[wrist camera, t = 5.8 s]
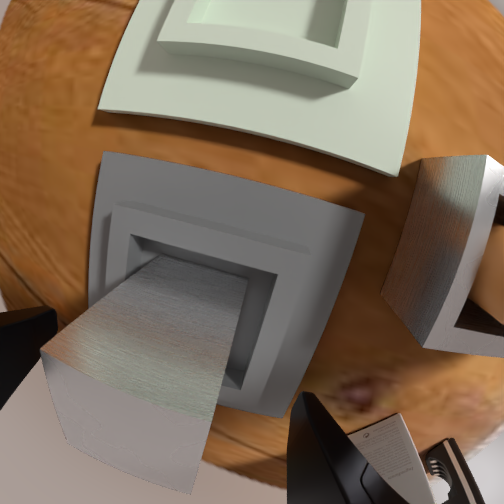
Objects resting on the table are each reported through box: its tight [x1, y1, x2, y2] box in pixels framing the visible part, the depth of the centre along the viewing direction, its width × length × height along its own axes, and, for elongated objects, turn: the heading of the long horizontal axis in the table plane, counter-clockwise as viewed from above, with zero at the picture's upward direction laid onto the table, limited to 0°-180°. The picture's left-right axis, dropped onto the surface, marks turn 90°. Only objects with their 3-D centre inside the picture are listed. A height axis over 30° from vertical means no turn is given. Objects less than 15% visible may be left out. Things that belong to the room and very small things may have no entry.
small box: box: [348, 413, 437, 504], centre depth 11 cm, size 8×6×10 cm
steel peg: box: [40, 254, 249, 494], centre depth 9 cm, size 4×4×8 cm
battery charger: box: [425, 438, 485, 504], centre depth 11 cm, size 7×4×11 cm, turn 33°
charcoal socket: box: [88, 151, 365, 418], centre depth 13 cm, size 12×12×2 cm
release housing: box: [380, 155, 504, 358], centre depth 10 cm, size 7×7×5 cm
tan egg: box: [467, 223, 504, 325], centre depth 9 cm, size 4×4×5 cm
